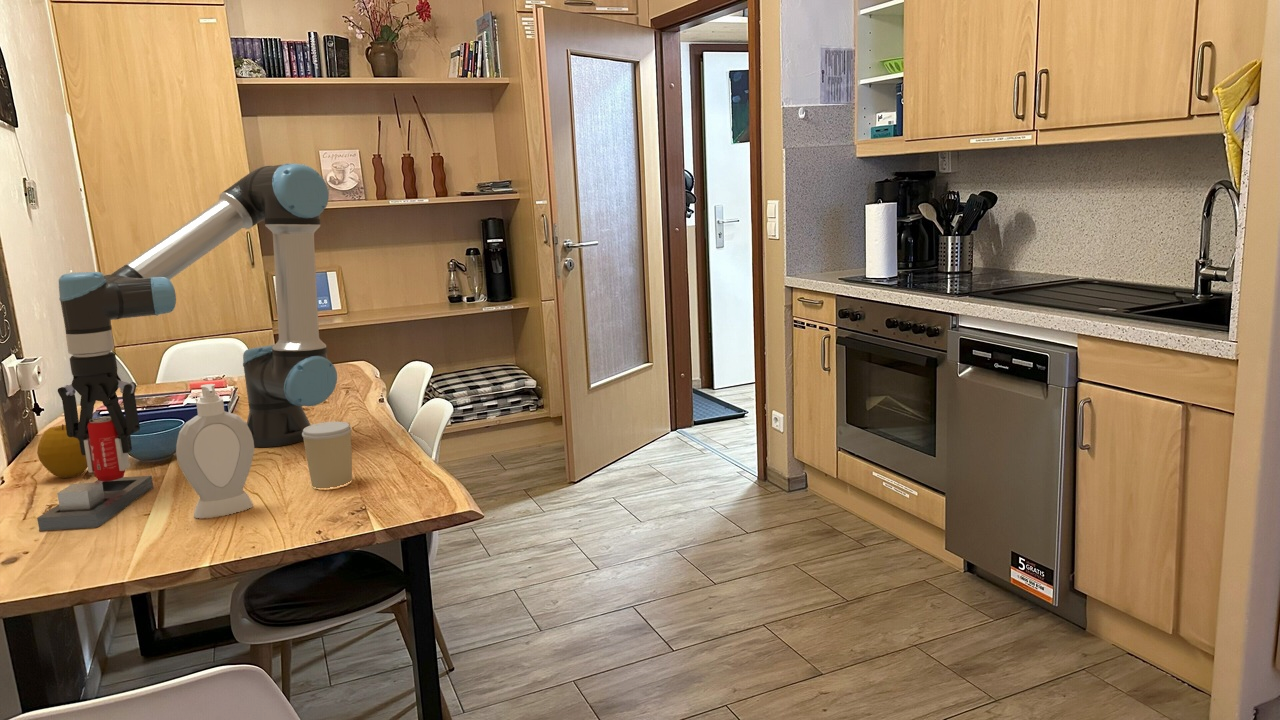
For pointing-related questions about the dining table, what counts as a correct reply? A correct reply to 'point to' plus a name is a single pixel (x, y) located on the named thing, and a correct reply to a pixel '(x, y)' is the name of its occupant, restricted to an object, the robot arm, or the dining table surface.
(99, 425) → the beverage can
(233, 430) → the soap bottle
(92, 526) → the grey flat frame
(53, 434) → the apple
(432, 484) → the dining table surface
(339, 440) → the coffee cup
